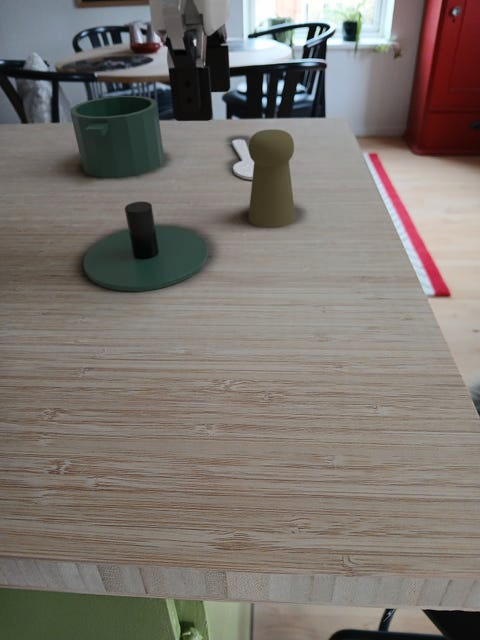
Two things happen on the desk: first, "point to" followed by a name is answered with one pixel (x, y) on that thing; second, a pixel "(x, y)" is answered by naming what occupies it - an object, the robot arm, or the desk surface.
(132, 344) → the desk surface
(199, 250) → the pot lid
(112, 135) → the cooker pot
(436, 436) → the desk surface
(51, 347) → the desk surface
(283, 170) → the pepper mill
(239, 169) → the spoon
